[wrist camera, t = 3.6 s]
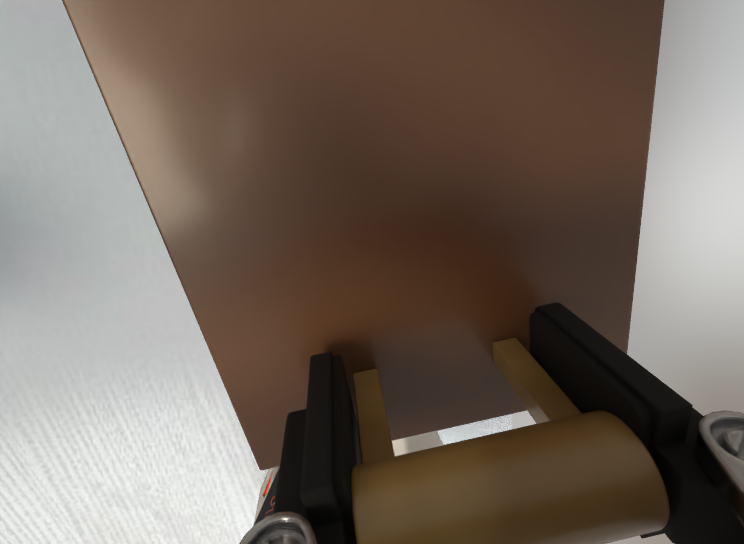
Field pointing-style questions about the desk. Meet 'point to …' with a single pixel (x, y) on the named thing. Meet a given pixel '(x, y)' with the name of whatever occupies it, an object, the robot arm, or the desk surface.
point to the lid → (404, 232)
